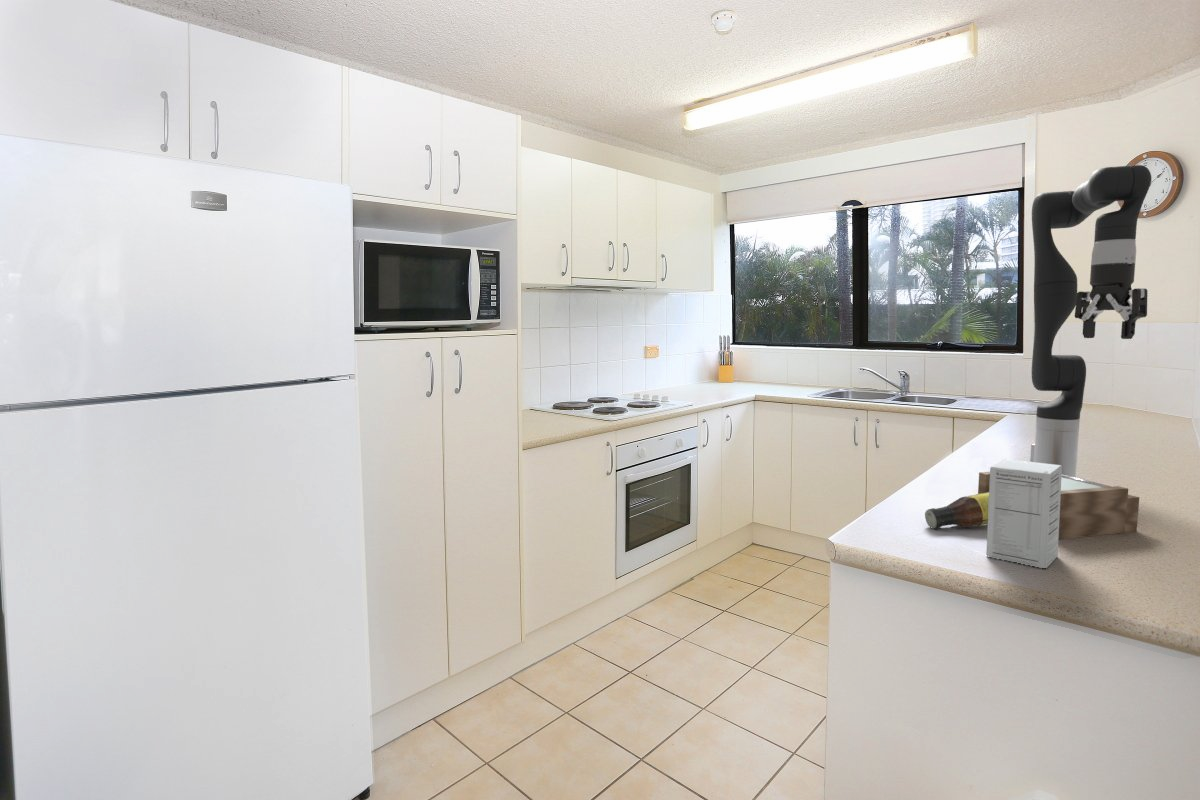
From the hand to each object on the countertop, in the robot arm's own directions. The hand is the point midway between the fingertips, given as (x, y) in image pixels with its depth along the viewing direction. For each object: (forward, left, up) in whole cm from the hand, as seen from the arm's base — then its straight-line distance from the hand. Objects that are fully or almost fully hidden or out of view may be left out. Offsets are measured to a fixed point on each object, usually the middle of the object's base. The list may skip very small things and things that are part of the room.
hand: (1107, 338), depth 143 cm
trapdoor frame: (+5, -17, -38) cm, 42 cm away
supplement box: (+21, -40, -38) cm, 59 cm away
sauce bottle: (+5, -25, -34) cm, 42 cm away
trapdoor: (+5, -17, -34) cm, 38 cm away
